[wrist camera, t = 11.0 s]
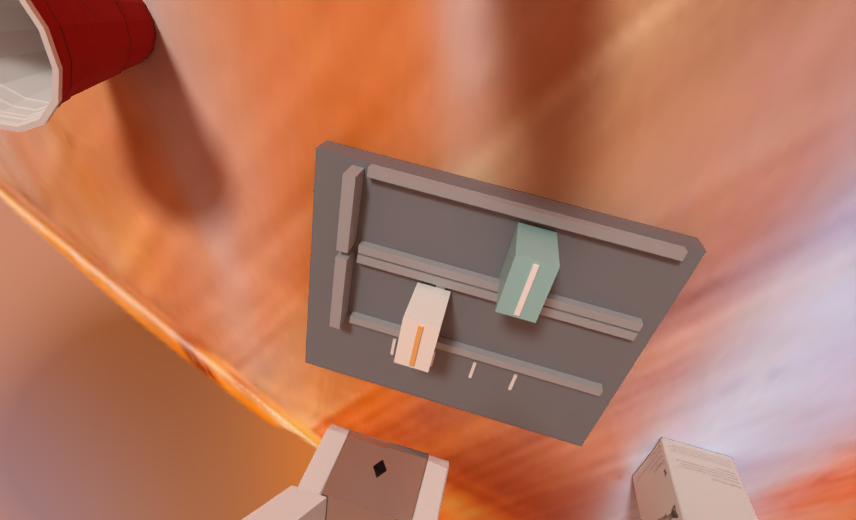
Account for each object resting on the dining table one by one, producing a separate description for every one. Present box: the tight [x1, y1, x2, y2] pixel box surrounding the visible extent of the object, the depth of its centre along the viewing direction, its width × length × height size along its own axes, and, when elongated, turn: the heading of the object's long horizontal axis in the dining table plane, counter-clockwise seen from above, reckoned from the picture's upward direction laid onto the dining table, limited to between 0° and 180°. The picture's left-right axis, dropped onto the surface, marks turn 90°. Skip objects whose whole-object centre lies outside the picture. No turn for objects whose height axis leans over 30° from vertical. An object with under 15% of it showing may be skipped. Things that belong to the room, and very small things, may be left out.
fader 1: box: [394, 282, 451, 372], centre depth 37 cm, size 3×5×5 cm, turn 169°
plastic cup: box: [0, 0, 156, 132], centre depth 29 cm, size 11×11×12 cm
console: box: [305, 141, 706, 446], centre depth 39 cm, size 30×24×4 cm
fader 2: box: [495, 222, 560, 323], centre depth 32 cm, size 3×5×5 cm, turn 169°
